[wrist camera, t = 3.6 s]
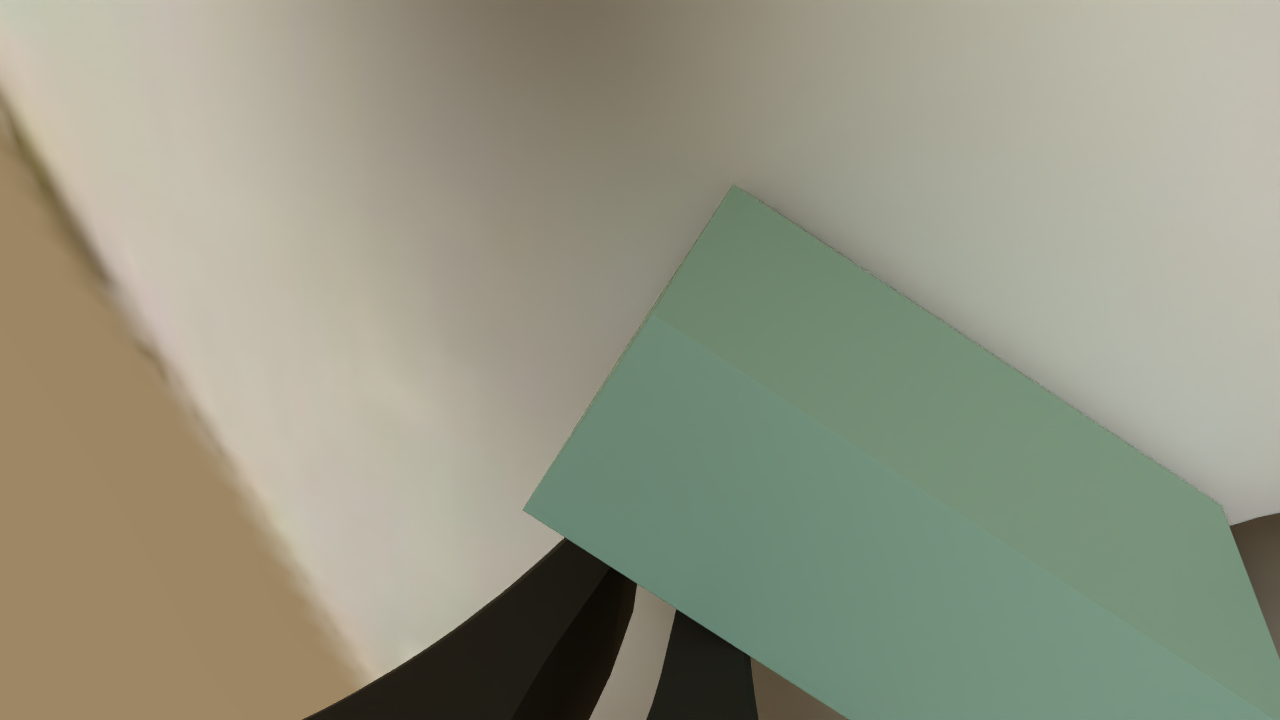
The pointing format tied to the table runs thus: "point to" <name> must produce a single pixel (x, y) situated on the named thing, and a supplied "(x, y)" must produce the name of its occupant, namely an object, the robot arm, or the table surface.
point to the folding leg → (898, 506)
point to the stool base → (1263, 566)
